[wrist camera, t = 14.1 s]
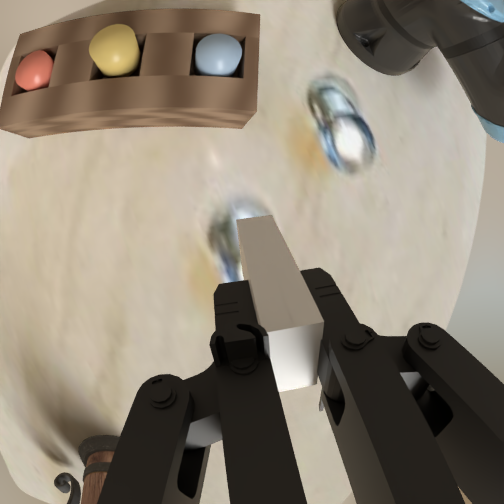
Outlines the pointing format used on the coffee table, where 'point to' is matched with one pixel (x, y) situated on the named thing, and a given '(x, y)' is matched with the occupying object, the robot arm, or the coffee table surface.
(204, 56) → the slate button
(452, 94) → the coffee table surface
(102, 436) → the tankard
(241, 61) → the console
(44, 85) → the red button
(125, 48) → the mustard button
